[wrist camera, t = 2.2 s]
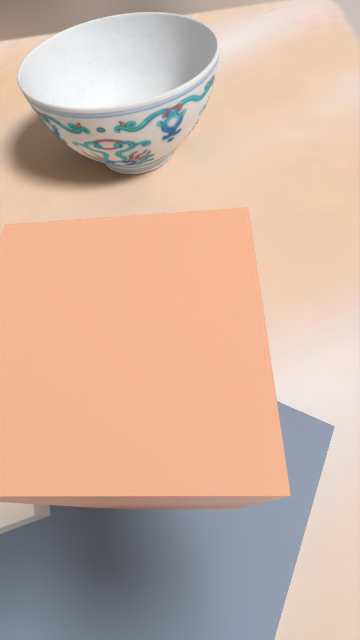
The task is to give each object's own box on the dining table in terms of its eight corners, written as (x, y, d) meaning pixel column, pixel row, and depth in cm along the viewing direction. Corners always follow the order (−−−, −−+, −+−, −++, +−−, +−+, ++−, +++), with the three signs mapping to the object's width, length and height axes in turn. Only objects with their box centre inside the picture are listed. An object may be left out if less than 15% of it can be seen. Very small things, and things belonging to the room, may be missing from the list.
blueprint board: (176, 950, 10) (171, 999, 9) (-209, 546, 17) (-237, 548, 16) (327, 431, 17) (334, 426, 16) (14, 292, 24) (5, 282, 23)
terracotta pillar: (233, 510, 15) (290, 495, 4) (133, 509, 15) (-98, 496, 4) (226, 408, 17) (248, 207, 6) (140, 410, 17) (5, 224, 6)
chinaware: (115, 98, 36) (93, 6, 30) (243, 122, 32) (251, 19, 25) (26, 182, 30) (-27, 89, 24) (170, 227, 26) (154, 127, 19)
